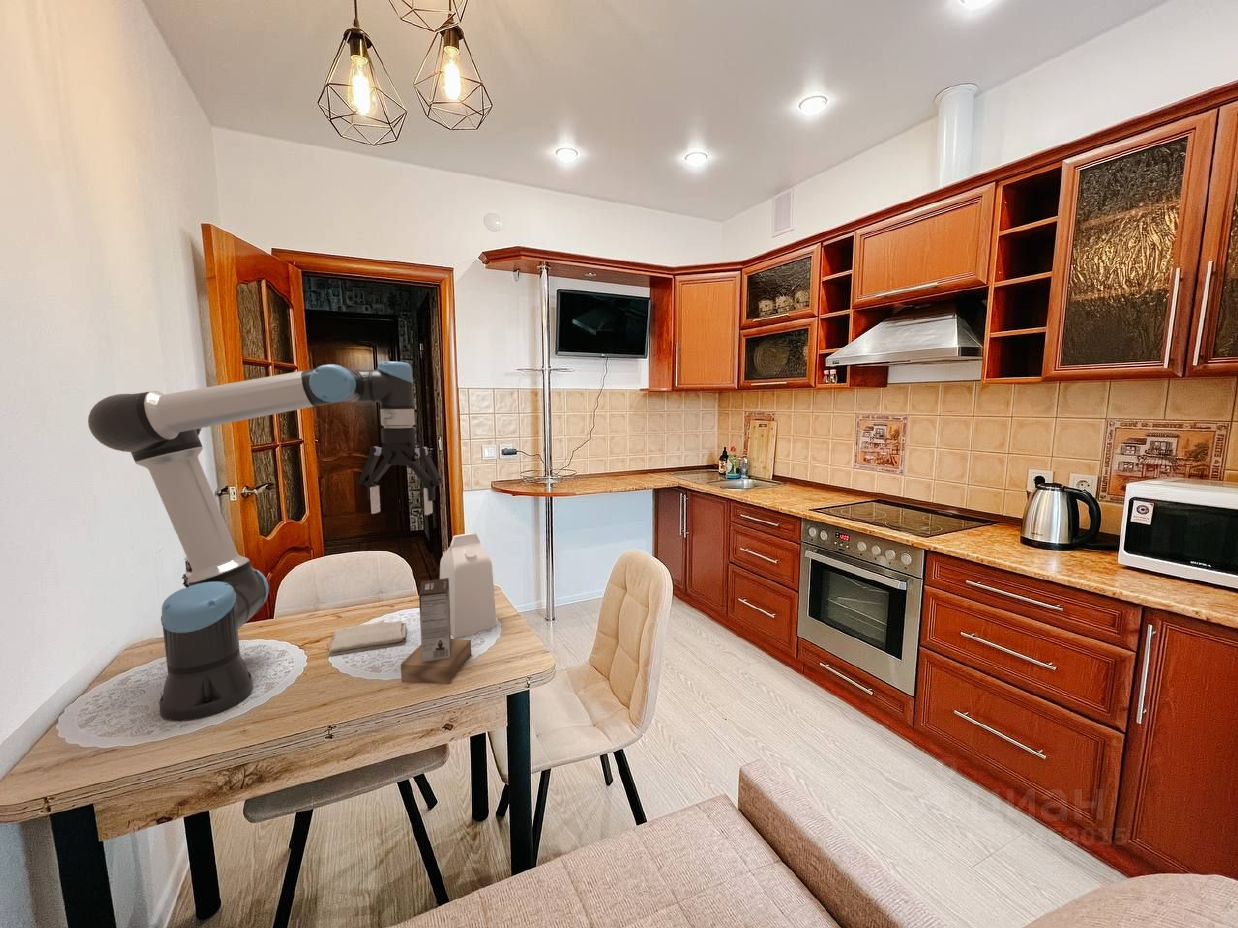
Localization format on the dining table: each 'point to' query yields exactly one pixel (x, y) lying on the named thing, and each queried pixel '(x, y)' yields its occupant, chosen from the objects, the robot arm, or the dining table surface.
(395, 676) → the dining table surface
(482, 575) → the milk
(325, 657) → the dining table surface
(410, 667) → the pedestal
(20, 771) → the dining table surface
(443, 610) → the coffee box
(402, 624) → the washcloth
